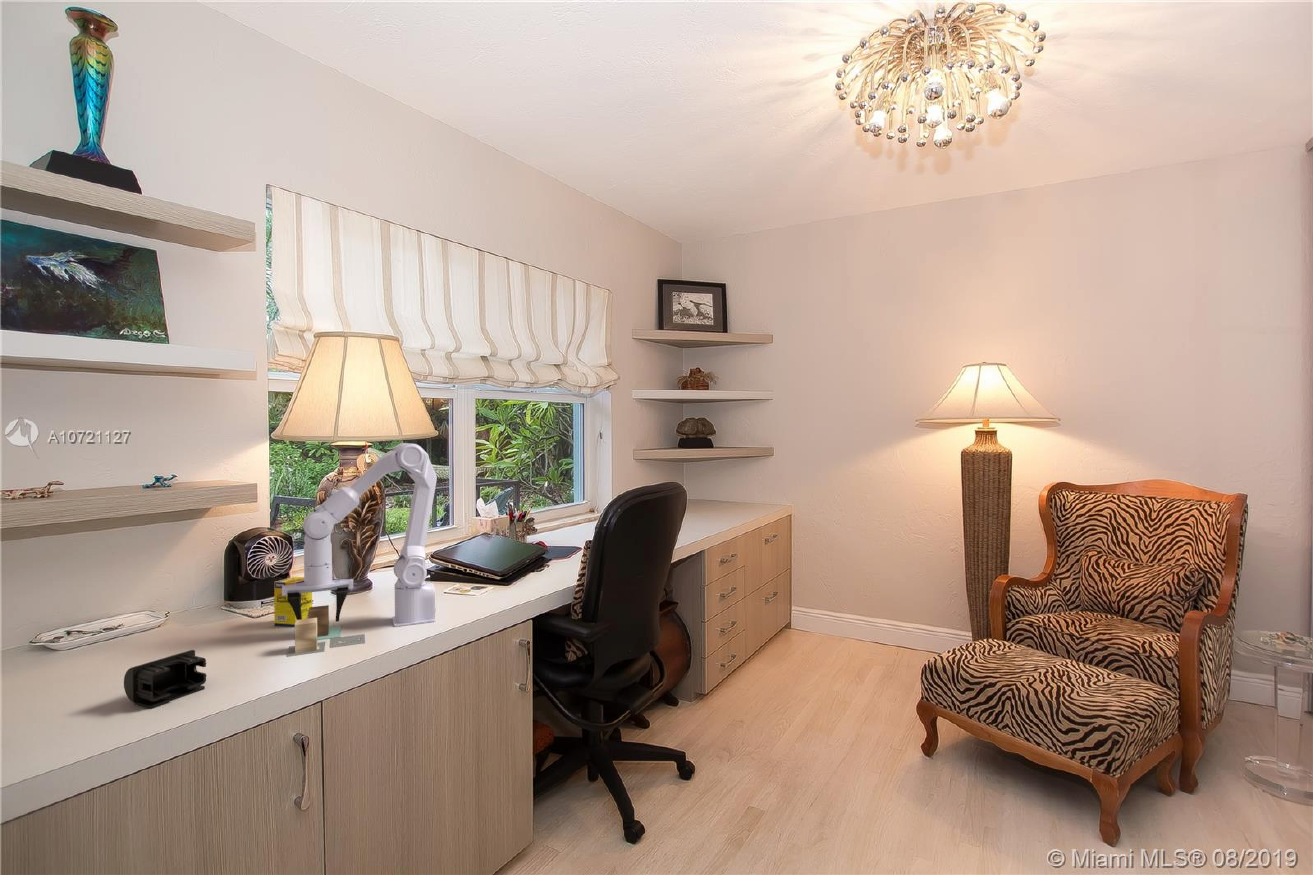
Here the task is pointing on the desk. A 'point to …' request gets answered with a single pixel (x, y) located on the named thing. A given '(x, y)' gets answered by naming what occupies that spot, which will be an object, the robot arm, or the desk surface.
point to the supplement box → (283, 607)
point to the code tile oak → (319, 649)
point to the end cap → (164, 680)
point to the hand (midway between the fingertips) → (318, 622)
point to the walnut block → (320, 619)
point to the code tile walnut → (347, 640)
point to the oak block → (306, 635)
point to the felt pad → (332, 633)
